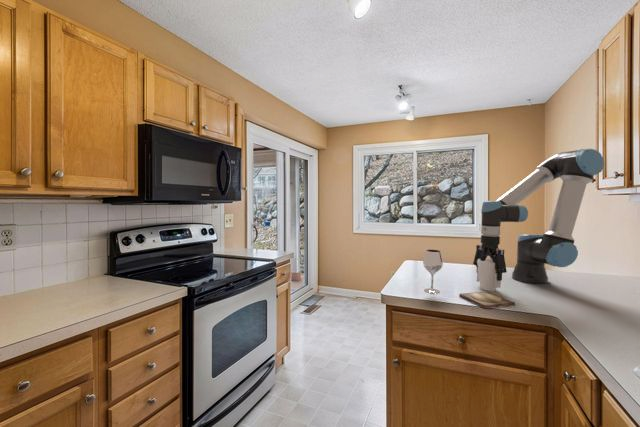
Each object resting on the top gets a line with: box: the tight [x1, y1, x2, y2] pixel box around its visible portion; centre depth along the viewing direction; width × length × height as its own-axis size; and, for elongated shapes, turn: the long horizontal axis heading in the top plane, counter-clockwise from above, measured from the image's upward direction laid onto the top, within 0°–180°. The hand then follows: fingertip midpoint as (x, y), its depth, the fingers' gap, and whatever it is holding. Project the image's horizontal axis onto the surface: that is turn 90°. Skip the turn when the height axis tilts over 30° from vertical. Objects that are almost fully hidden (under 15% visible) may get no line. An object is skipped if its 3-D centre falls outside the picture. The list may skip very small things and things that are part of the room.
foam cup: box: [477, 258, 497, 292], centre depth 142 cm, size 10×9×13 cm
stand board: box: [459, 290, 516, 309], centre depth 127 cm, size 14×14×2 cm
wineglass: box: [422, 249, 444, 294], centre depth 138 cm, size 8×8×18 cm
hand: (488, 284), depth 143 cm, fingers closed on foam cup, 9 cm apart
